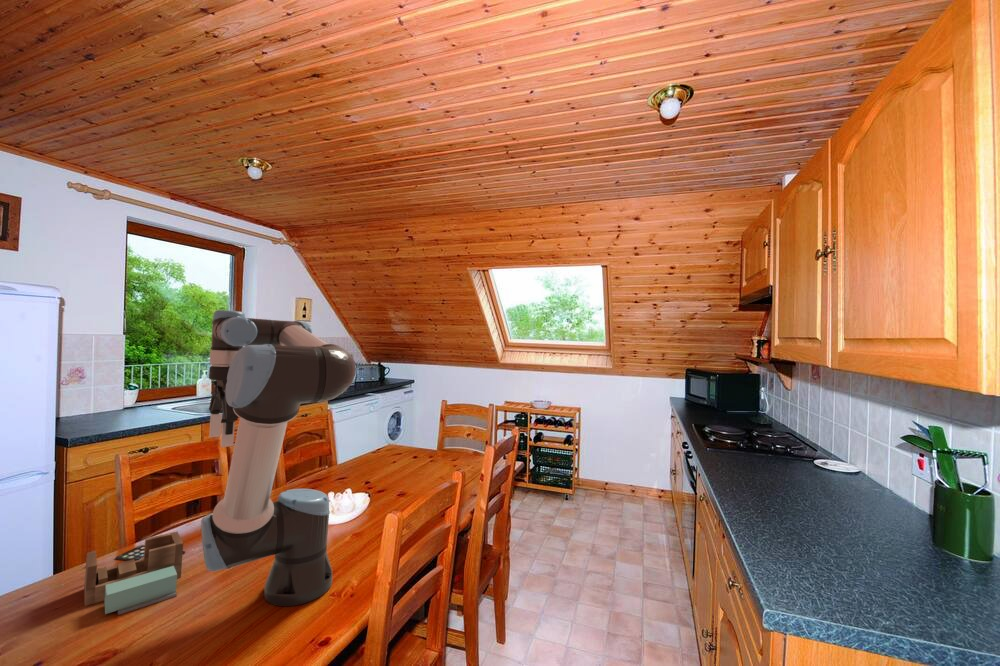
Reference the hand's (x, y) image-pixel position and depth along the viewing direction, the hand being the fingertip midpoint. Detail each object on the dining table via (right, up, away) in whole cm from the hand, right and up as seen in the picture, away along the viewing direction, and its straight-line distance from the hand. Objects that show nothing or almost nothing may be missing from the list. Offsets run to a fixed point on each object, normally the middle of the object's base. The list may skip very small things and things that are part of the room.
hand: (220, 441), depth 114 cm
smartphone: (-18, -31, -2) cm, 36 cm away
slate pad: (-4, -31, -20) cm, 37 cm away
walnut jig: (-11, -31, -14) cm, 36 cm away
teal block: (-4, -30, -20) cm, 37 cm away
